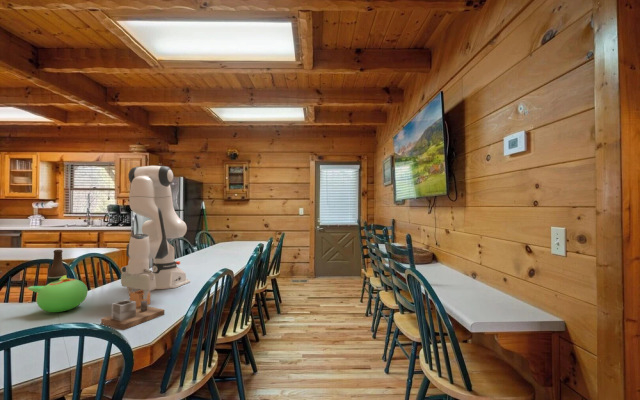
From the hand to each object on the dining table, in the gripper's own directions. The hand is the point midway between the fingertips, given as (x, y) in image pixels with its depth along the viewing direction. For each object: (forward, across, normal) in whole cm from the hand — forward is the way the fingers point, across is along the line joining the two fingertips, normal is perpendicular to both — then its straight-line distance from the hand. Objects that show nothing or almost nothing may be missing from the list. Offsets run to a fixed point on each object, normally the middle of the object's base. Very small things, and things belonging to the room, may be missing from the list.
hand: (137, 297), depth 147 cm
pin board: (+4, -15, +12) cm, 19 cm away
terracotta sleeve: (+4, 0, -1) cm, 4 cm away
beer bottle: (+4, +47, +10) cm, 49 cm away
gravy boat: (+4, +23, +20) cm, 31 cm away
